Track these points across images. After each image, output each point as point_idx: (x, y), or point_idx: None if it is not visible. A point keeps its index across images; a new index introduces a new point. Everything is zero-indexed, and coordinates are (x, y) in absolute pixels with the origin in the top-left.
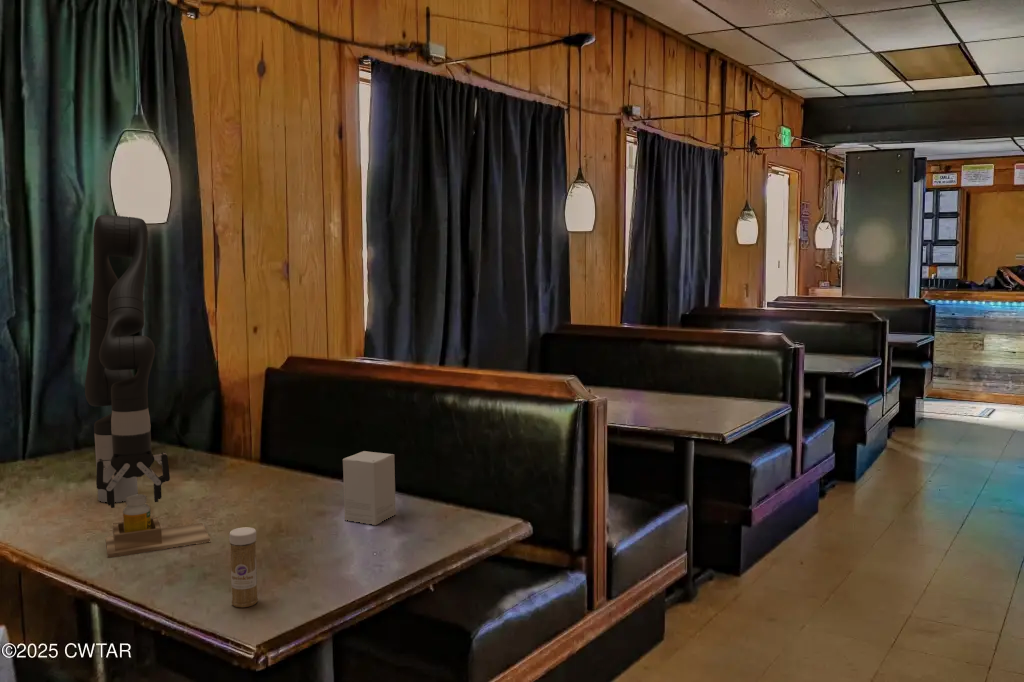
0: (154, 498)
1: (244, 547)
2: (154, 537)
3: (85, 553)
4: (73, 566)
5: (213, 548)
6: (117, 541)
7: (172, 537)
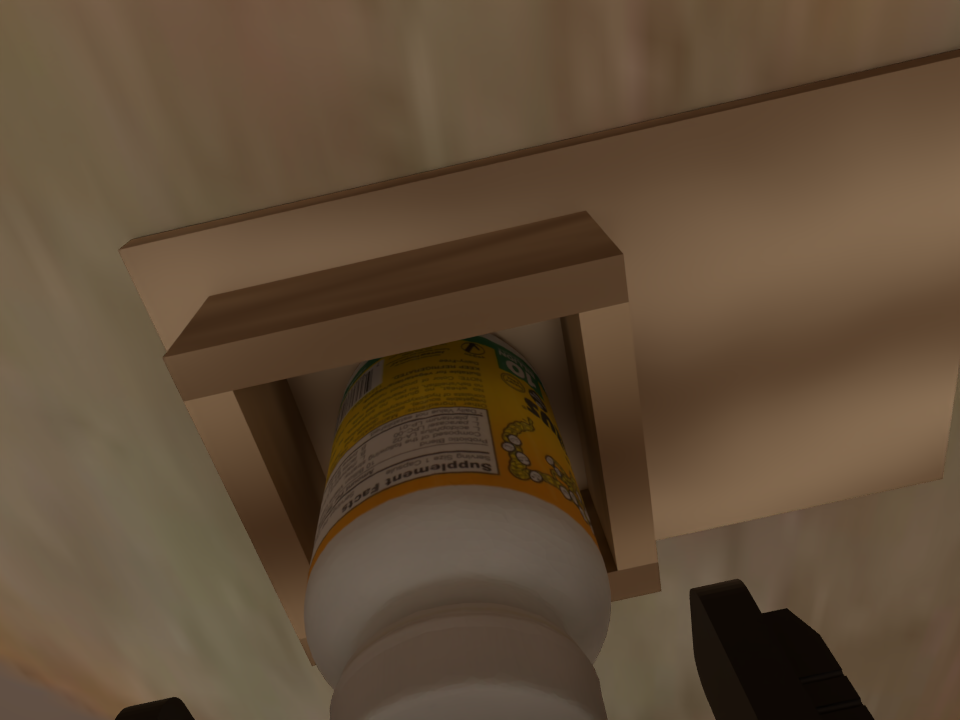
0: (708, 663)
1: None
2: None
3: (101, 501)
4: (133, 677)
5: (914, 558)
6: None
7: (701, 402)
